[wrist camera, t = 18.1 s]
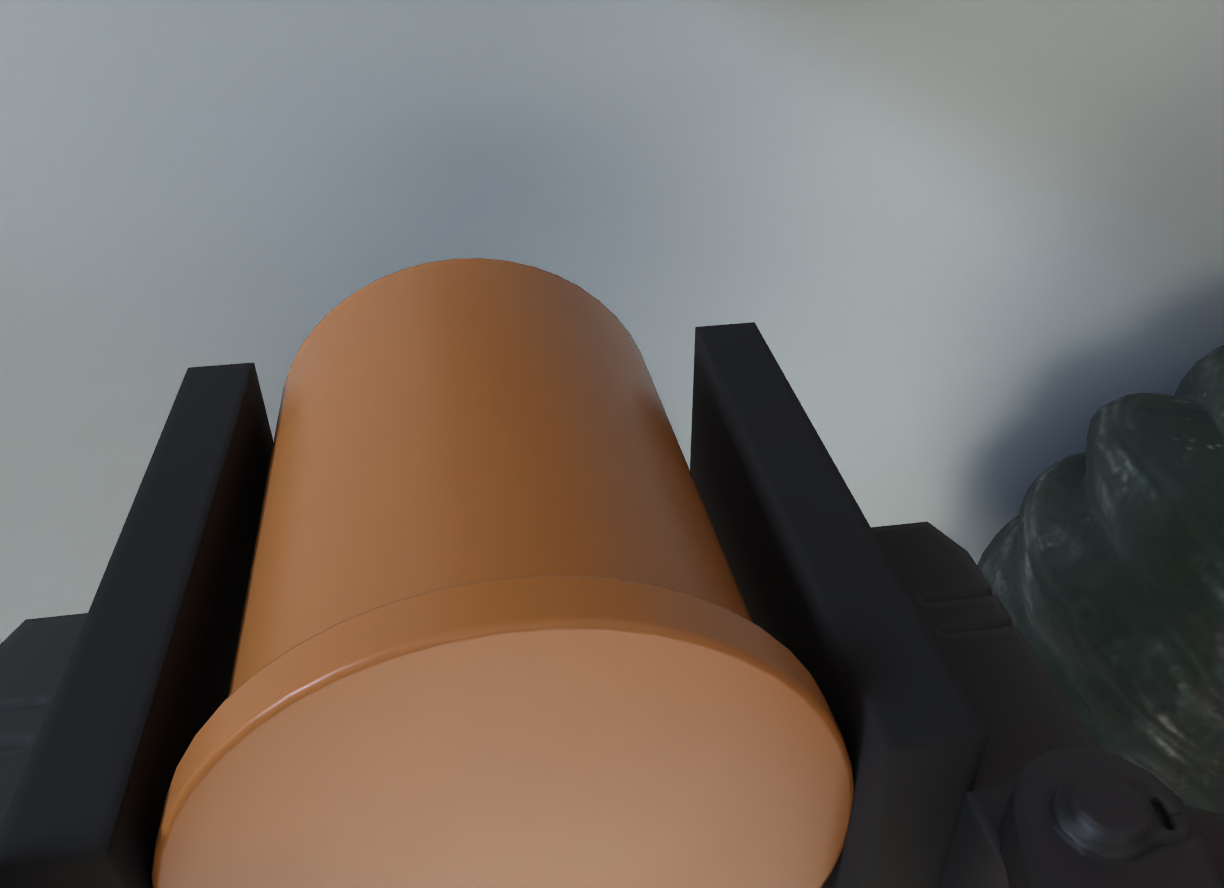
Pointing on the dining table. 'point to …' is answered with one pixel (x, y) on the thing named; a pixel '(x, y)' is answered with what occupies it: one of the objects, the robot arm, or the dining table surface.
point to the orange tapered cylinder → (496, 627)
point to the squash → (1133, 581)
